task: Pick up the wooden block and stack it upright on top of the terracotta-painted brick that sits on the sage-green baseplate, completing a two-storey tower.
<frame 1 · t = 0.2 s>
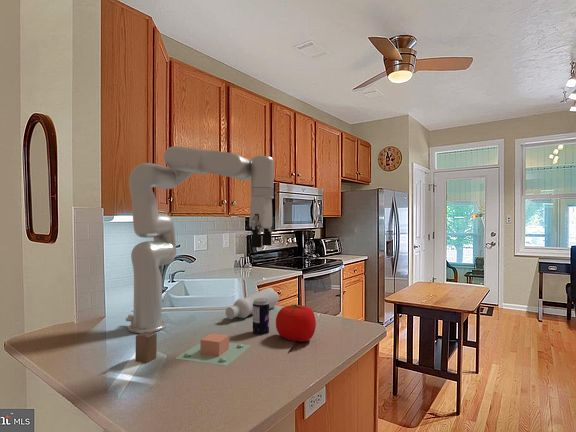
hand: (261, 246, 112), 31 cm above the table, fingers open, 9 cm apart
tomato: (296, 340, 113), on the table
beverage can: (260, 335, 118), on the table
brick1: (214, 351, 99), point 1 cm above the table, touching baseplate
wooden block: (145, 363, 93), on the table
bottle: (252, 314, 146), on the table
baseplate: (214, 354, 99), on the table
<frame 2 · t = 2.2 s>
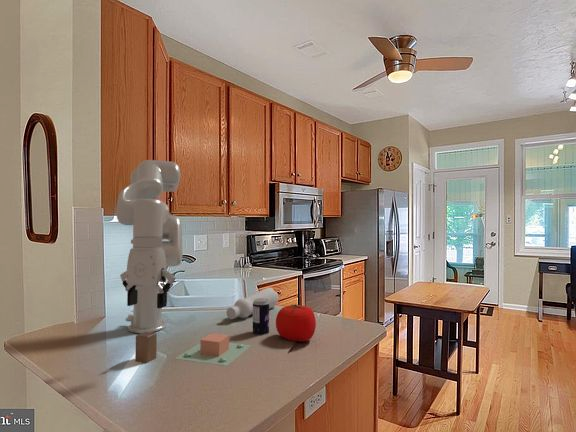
hand: (146, 306, 93), 16 cm above the table, fingers open, 9 cm apart
nothing on the table moved.
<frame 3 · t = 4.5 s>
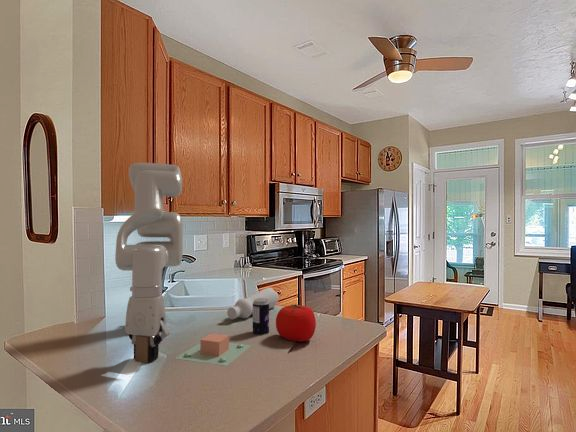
hand: (145, 358, 93), 1 cm above the table, fingers closed on wooden block, 4 cm apart
wooden block: (145, 363, 93), on the table, touching gripper
everything else where it was.
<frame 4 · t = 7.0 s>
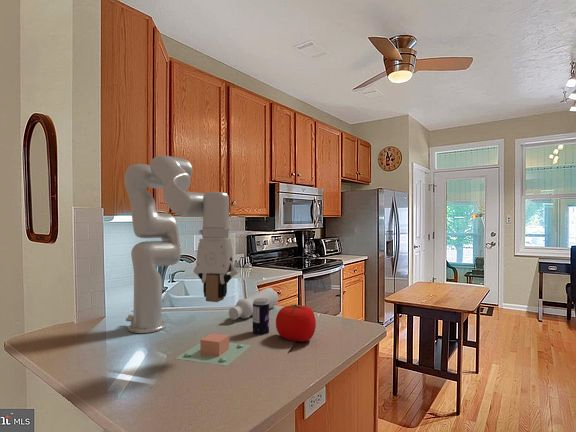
hand: (215, 296, 100), 17 cm above the table, fingers closed on wooden block, 4 cm apart
wooden block: (214, 301, 100), point 16 cm above the table, touching gripper
everything else where it was.
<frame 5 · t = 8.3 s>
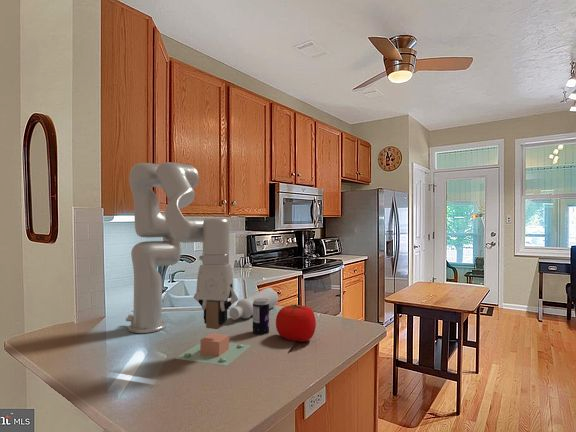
hand: (215, 322, 100), 9 cm above the table, fingers closed on wooden block, 4 cm apart
wooden block: (215, 327, 99), point 8 cm above the table, touching gripper
everything else where it was.
when the fingers open (8 cm above the table, at t = 9.4 s): wooden block drops 1 cm, resting on brick1.
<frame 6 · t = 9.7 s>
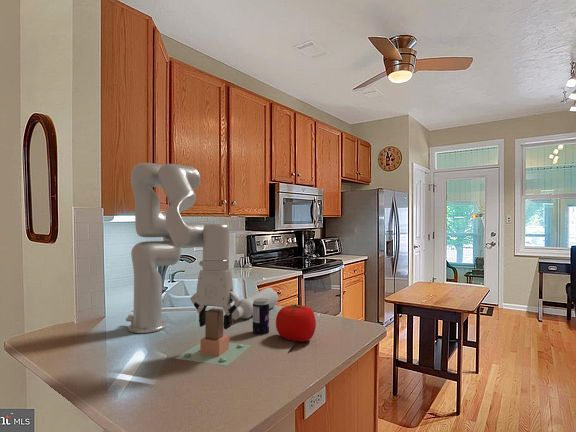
hand: (215, 326, 100), 8 cm above the table, fingers open, 7 cm apart
brick1: (214, 351, 99), point 1 cm above the table, touching baseplate, wooden block
wooden block: (214, 338, 100), point 5 cm above the table, touching brick1
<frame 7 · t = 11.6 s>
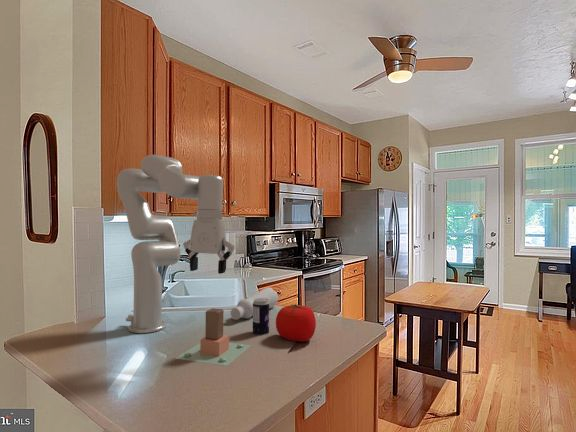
hand: (207, 271, 104), 24 cm above the table, fingers open, 9 cm apart
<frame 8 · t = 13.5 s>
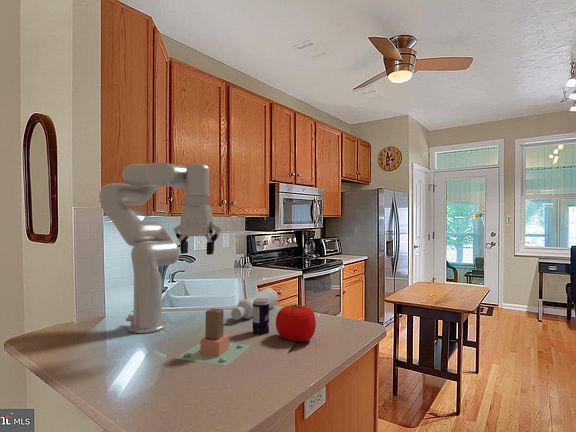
hand: (196, 253, 112), 28 cm above the table, fingers open, 9 cm apart
at the end: wooden block 0.2 cm off-centre on the brick1, point 3.8 cm above the brick1's base; wooden block tilted 0°; the gripper is holding nothing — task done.
